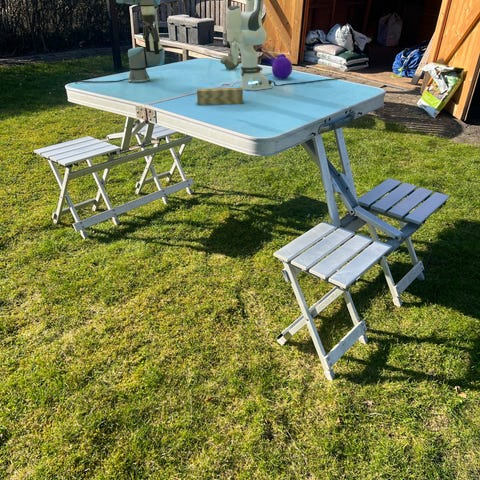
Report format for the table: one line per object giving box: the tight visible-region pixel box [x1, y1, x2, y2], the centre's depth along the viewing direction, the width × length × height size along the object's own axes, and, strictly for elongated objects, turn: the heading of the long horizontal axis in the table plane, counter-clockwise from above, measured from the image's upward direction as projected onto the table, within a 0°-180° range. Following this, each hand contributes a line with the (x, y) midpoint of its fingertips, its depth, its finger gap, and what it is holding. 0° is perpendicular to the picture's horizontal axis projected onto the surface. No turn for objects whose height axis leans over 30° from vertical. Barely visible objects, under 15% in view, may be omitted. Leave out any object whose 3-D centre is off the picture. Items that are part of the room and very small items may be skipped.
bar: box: [196, 87, 244, 106], centre depth 274 cm, size 28×6×8 cm, turn 93°
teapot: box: [220, 49, 241, 71], centre depth 371 cm, size 21×12×15 cm, turn 120°
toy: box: [260, 53, 293, 80], centre depth 336 cm, size 16×18×27 cm
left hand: (152, 53), depth 276 cm, fingers open, 13 cm apart
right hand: (235, 63), depth 264 cm, fingers open, 8 cm apart
